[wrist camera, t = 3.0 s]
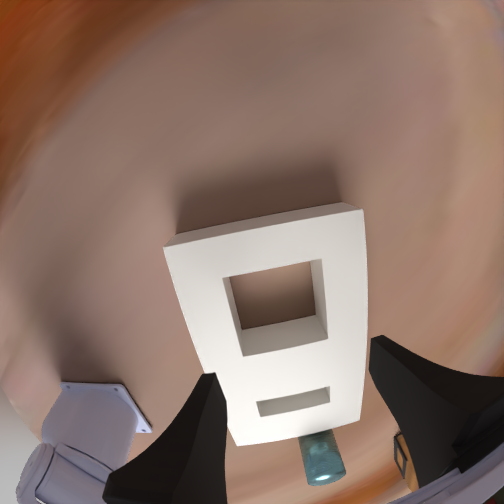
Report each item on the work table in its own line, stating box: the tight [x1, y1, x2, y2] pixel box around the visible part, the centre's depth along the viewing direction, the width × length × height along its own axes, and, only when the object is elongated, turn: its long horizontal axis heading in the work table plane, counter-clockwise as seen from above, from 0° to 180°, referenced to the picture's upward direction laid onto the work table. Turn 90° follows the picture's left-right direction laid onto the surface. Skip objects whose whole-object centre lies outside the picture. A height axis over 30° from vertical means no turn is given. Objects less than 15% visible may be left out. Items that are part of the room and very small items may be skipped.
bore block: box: [163, 202, 368, 446], centre depth 20 cm, size 12×20×4 cm, turn 11°
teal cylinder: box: [298, 429, 346, 486], centre depth 23 cm, size 4×4×7 cm
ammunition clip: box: [394, 433, 419, 492], centre depth 24 cm, size 11×2×12 cm, turn 23°
